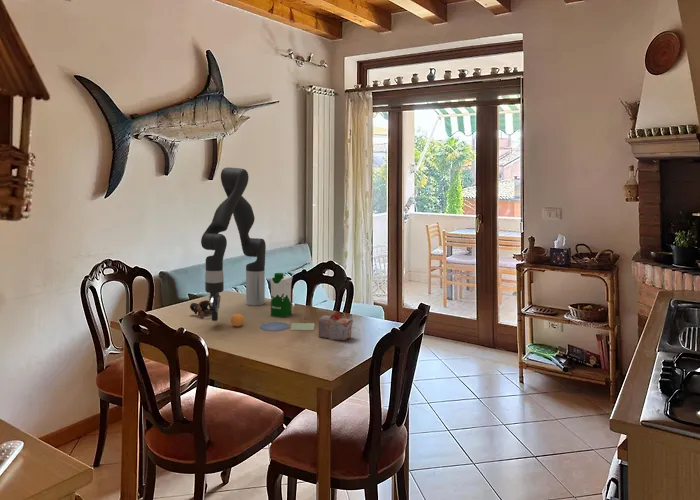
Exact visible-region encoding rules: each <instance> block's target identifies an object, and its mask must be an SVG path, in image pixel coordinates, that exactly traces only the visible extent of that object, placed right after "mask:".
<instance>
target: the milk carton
mask: <svg viewBox="0 0 700 500" xmlns="http://www.w3.org/2000/svg"><path fill="white" fill-rule="evenodd" d="M269 281H270V316H271V317H277V318H283V319H284V318H286V317H288V316H291V315H292V281H293V276H287V275H284V273H283V272H276V273H274V275H273V276H271V277H270V278H269Z"/></svg>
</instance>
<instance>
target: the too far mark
mask: <svg viewBox="0 0 700 500" xmlns="http://www.w3.org/2000/svg"><path fill="white" fill-rule="evenodd" d="M315 325H316V324H315V323H314V322H291V325H290V328H289V330H290V331H315Z"/></svg>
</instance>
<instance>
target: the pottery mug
mask: <svg viewBox="0 0 700 500" xmlns="http://www.w3.org/2000/svg"><path fill="white" fill-rule="evenodd" d="M208 302H210V301H209V299H208V300H207V299H204V300H201V301H200V302H198V303H197V302H192V303H190V305H189V308H190V310H191V311H192V312H193V313H194V315H197V314H198V315H199V318H200V319H204V317H209V316H212V312H210V309H209V304H208Z"/></svg>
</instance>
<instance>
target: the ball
mask: <svg viewBox="0 0 700 500" xmlns="http://www.w3.org/2000/svg"><path fill="white" fill-rule="evenodd" d="M244 322H245V318H244V316H243V315H242V314H241V313H234V314H233V315H232V316H231V317H230V323H231V325H232V326H233V327H240V326H242V325H243V324H244Z"/></svg>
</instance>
